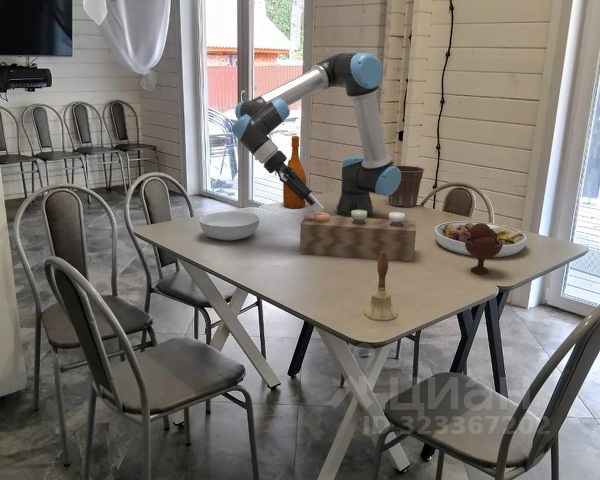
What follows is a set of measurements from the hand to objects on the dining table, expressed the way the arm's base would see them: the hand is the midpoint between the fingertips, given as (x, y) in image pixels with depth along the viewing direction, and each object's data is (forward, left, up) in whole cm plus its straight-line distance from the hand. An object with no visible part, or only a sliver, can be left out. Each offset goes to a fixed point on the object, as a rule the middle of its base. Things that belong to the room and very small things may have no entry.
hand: (320, 211), depth 185 cm
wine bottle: (-27, -53, -13) cm, 61 cm away
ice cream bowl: (-28, +43, -13) cm, 53 cm away
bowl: (-49, +26, -14) cm, 57 cm away
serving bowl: (+18, -28, -13) cm, 36 cm away
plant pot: (-70, -31, -13) cm, 78 cm away
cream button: (-17, +17, -5) cm, 25 cm away
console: (-9, +9, -13) cm, 18 cm away
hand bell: (+18, +49, -13) cm, 54 cm away
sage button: (-9, +9, -5) cm, 14 cm away
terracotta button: (0, 0, -7) cm, 7 cm away
